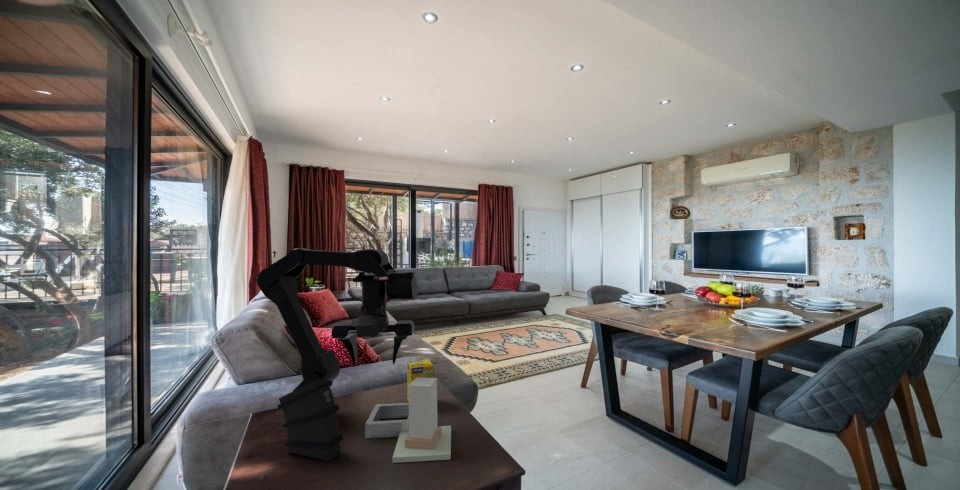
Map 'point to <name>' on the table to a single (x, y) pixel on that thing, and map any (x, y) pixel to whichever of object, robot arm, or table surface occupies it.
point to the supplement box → (418, 371)
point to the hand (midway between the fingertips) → (374, 364)
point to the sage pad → (417, 454)
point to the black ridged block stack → (312, 421)
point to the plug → (423, 414)
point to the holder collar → (387, 428)
